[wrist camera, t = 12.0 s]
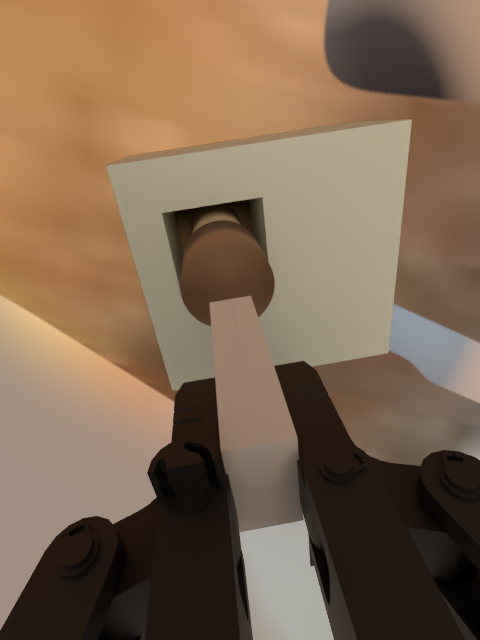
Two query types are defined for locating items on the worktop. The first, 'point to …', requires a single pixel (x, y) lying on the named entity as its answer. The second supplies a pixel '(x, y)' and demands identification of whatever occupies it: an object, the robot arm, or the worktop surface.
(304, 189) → the seat board
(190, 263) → the peg
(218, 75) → the worktop surface
